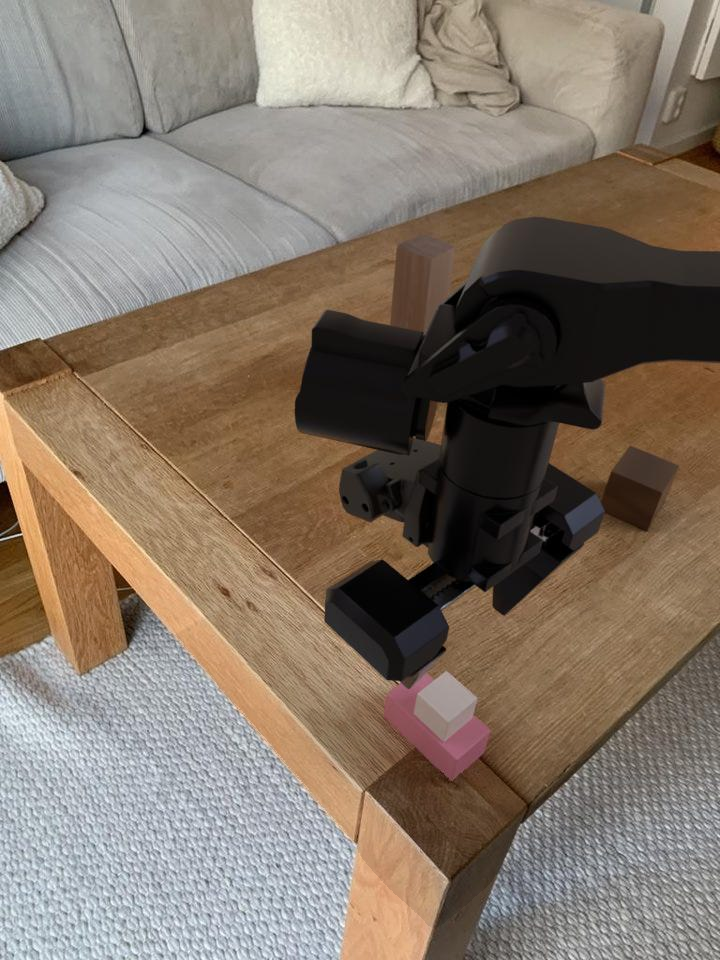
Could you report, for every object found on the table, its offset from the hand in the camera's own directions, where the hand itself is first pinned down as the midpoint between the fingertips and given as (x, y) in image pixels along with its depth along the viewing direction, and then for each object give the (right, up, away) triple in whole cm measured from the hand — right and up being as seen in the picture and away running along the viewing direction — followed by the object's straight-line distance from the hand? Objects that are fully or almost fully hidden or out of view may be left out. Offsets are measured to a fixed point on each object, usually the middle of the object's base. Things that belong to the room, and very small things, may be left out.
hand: (454, 645), depth 54 cm
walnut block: (+21, +8, +27) cm, 35 cm away
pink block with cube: (-1, -8, +6) cm, 10 cm away
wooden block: (+1, +22, +41) cm, 47 cm away
